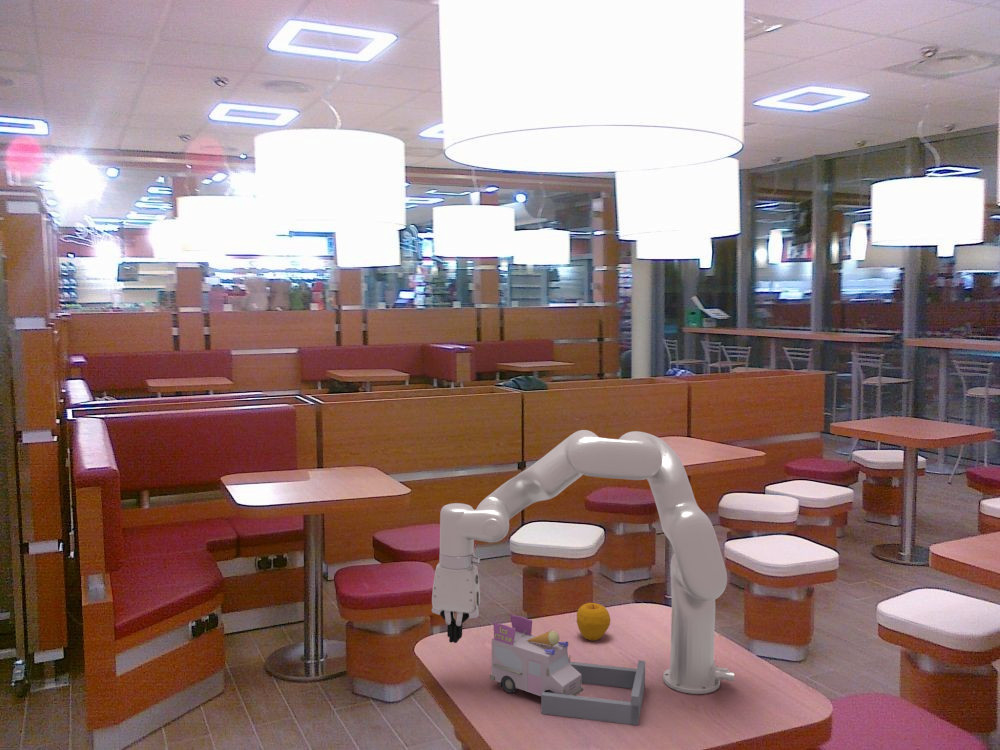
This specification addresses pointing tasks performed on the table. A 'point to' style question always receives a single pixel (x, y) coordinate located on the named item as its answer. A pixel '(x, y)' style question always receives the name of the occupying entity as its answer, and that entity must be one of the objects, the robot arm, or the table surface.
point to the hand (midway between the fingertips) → (454, 640)
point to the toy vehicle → (532, 660)
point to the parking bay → (597, 706)
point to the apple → (593, 621)
